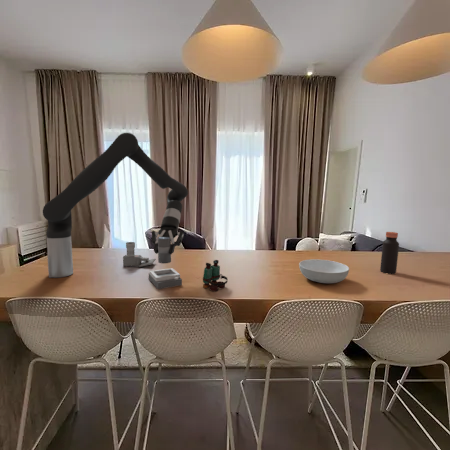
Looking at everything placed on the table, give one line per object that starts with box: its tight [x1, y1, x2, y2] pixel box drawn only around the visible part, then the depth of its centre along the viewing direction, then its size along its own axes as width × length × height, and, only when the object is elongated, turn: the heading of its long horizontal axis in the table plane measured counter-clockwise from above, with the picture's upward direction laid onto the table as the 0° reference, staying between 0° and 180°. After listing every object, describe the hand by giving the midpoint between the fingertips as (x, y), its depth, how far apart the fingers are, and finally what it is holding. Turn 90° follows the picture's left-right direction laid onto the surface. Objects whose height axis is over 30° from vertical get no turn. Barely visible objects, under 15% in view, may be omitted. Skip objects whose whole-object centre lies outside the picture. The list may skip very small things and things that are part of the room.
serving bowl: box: [298, 258, 350, 284], centre depth 120 cm, size 21×21×7 cm
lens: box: [157, 236, 172, 265], centre depth 112 cm, size 6×6×10 cm
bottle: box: [379, 231, 400, 275], centre depth 132 cm, size 7×7×20 cm
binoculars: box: [202, 259, 229, 292], centre depth 107 cm, size 9×11×10 cm
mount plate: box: [148, 267, 183, 290], centre depth 114 cm, size 10×14×4 cm
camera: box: [122, 241, 156, 268], centre depth 137 cm, size 9×12×15 cm
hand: (163, 252), depth 111 cm, fingers closed on lens, 5 cm apart
